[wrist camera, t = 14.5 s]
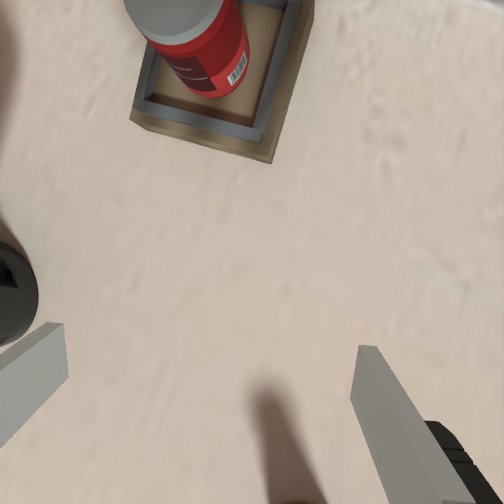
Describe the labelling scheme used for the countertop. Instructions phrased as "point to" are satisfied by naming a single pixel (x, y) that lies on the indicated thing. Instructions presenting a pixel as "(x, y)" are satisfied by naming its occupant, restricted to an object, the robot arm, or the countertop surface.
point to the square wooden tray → (243, 97)
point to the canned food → (196, 41)
